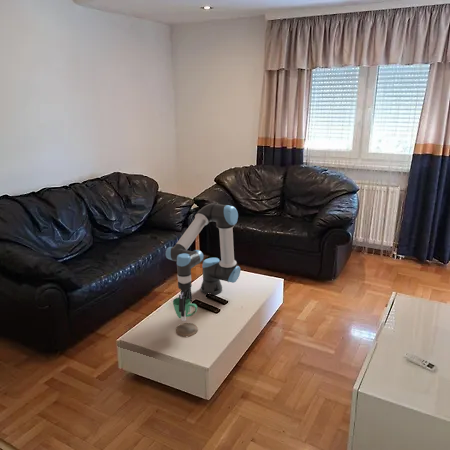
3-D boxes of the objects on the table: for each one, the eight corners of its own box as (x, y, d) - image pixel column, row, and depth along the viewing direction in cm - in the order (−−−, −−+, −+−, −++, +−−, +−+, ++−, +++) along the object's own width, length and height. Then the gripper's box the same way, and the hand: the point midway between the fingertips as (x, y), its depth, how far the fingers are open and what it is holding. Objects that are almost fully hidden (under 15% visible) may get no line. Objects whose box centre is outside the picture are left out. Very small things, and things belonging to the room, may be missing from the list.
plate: (180, 322, 239) (179, 321, 239) (200, 325, 237) (200, 324, 236) (172, 335, 227) (172, 333, 227) (193, 338, 225) (193, 336, 224)
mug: (170, 318, 227) (169, 303, 224) (178, 310, 236) (177, 295, 233) (193, 324, 222) (193, 308, 219) (201, 315, 231) (200, 299, 228)
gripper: (184, 272, 233) (186, 306, 240) (171, 289, 213) (173, 325, 220) (196, 273, 231) (197, 307, 238) (184, 290, 211) (186, 327, 218)
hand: (186, 316), depth 229 cm, fingers closed on mug, 9 cm apart
